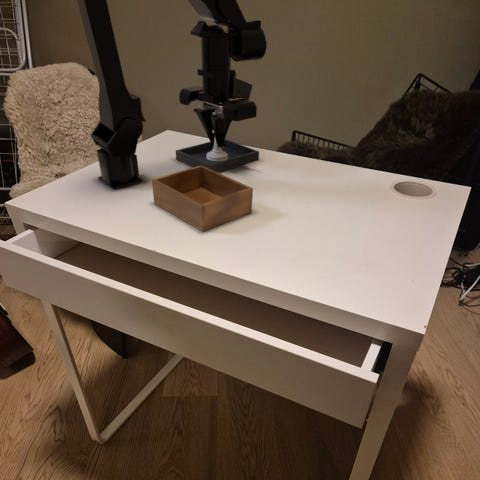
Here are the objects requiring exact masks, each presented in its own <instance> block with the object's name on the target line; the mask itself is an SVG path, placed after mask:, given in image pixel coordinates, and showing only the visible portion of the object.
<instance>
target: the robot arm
mask: <svg viewBox="0 0 480 480" xmlns="http://www.w3.org/2000/svg"><path fill="white" fill-rule="evenodd" d="M76 2H77V6H78V11H79V13H80V16H81V17H80V18H81V22H82V25H83V29H84V32H85V33H84V34H85V36H86V41H87V45H88V48H89V52H90V55H91V59H92V63H93V67H94V71H95V75H96V79H97V83H98V86H99V90H98V103H97V104H98V114H99V121H98V123H97V124H96V126H95V128H94V129H93V130H92V132H91V134H90V137H91V139H92V141H93V143H94V144H95V145H96V147H97V146H98V147H99V149H96V154H97V155H96V156H97V160H98V164H99V170H100V176H98V180H99V181H100V182H101V183H103V184H105V185H106V186H108V187H109V188H111V189H114V190H116V189H119V188H124V187H127V186H131V185H133V184H137V183H141V182H143V178H142V177H141V176H140V170H139V162H138V156H137V154H136V152H137V148H138V147H137V146H138V141H139V139H140V137H141V136H142V134H143V133H144V123H145V122H146V119H145V117H144V114H143V109H142V100H141V97H140V96H138V95H136V94H133V93H131V92H129V90H128V87H127V85H126V82H125V81H126V80H125V77H124V73H123V72H124V71H123V68H122V63H121V59H120V54H119V50H118V46H117V41H116V36H115V32H114V27H113V23H112V18H111V14H110V10H109V5H108V0H76ZM187 2H188V3H189V5H190V6H191V7H192V9H193V10H194V11H195V12H196V14H197V15H198V16H199V17H200V18H202V19H203V20H201V19H199V20H198V21H197V23H196V24H195V26H193V28H192V29H191V30H190V32H189V34H190V35H191V36H192V37H193V36H194V37H198V38H200V49H201V53H200V55H201V68H197V76H200V77H201V85H202V86H200V85H196V86H195V85H194V86H189V87H184V88H182V89H181V90H180V92H179V94H178V95H179V96H178V97H179V104H181V105H183V106H190V104H191V103H192V102H195V108H193V109H192V110H193V112H194V113H195V114H196V116H197V118H198V120H199V122H200V124H201V126H202V127H203V129H204V132H205V133H206V136H207V138H208V140H209V142H211V144H212V145H214V139H215V138H216V142H217V146H218V147H222V146H223V143H224V140H225V139H226V137H227V134H228V131H229V129H230V126H231V123H232V122H240V121H245V120H249V119H254V118H257V111H258V106H257V104H256V103H255V102H254V101H252V100H250V97H251V94H252V89H253V84H252V83H249V82H246V81H245V80H242V79H239V78H237V71H236V69H234V68H233V69H232V66H231V65H232V64H231V63H232V62H231V61H233V62H236V63H239V62H249V61H251V62H252V61H260V60H262V59H263V58H264V57H265V54H266V51H267V46H268V45H267V43H268V42H267V40H266V35H265V31H264V30H263V28H262V21H261V20H260V19H249V20H246V18H245V16H244V14H243V11H242V10H241V8H240V6H239V3H238V1H237V0H187ZM205 20H207V21H212V23H214V24H212V25H211V24H207V22H206V21H205ZM223 27H227V29H226V30H224V28H223ZM215 109H218V114H215V115H213V113H214V112H215ZM213 129H214V133H213V132H212V130H213Z"/></svg>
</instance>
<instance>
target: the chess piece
mask: <svg viewBox="0 0 480 480" xmlns="http://www.w3.org/2000/svg"><path fill="white" fill-rule="evenodd" d="M215 114H218V109H215V112H214V113H213V115H215ZM212 132H213V133H214V129H213V130H212ZM206 158H207V159H208V160H211V161H224V160H227V159H228V154H227V153H226V152H224V151H222V149H221V147H218V146H217V142H216V138H215V139H214V148H213V149H212V151H210V152H208V153H207V156H206Z"/></svg>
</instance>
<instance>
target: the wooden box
mask: <svg viewBox="0 0 480 480" xmlns="http://www.w3.org/2000/svg"><path fill="white" fill-rule="evenodd" d="M151 185H152V186H151V187H152V194H153V196H152V197H153V203H154V204H155V205H156V206H158V207H161V208H162V209H164V210H166V211H167V212H168V213H171V214H172V215H174V216H175V217H177V218H179V219H181V220H182V221H184V222H186V223H187V224H190V225H191V226H193V227H195V228H196V229H197V230H199V231H201V232H205V231H208V230H210V229H213V228H215V227H217V226H220V225H223V224H226V223H228V222H231V221H233V220H236V219H239V218H240V217H243V216H246V215H248V214H251V213H253V196H254V195H253V194H254V193H253V192H254V188H253V187H251V186H248V185H247V184H244V183H242V182H240V181H237V180H235V179H233V178H231V177H229V176H227V175H224V174H222V173H221V172H219V173H217V172H215V171H213V170H211V169H209V168H206V167H204V166H202V165H200V166H197V167H190V168H187V169H184V170H183V169H182V170H180V171H176V172H173V173H170V174H165V175H162V176H159V177H155V178H152V179H151Z"/></svg>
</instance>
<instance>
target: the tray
mask: <svg viewBox="0 0 480 480" xmlns="http://www.w3.org/2000/svg"><path fill="white" fill-rule="evenodd" d="M213 148H214V145H212V144H211V142H210V141H208V142H203V143H199V144H196V145H191V146H187V147H184V148H180V149H176V150H175V160H176V161H179V162H181V163H183V164H185V165H187V166H189V167H191V168H193V167H197V166H200V165H202V166H204V167H206V168H209V169H211V170H213V171H215V172H217V173H222V172H225V171H229V170H232V169H235V168H238V167H239V168H240V167H242V166H246V165H248V164H251V163H255V162H258V161H260V151H259V150H258V149H257V150H256V149H254V148H251V147H249V146H246V145H244V144H240V143H237V142H236V141H233V140H230V139H227V138H225V140H224V143H223V146H222V147H221V149H222V151H224V152H226V153H227V154H228V159H227V160H224V161H211V160H208V159H207V158H206V156H207V153H208V152H210V151H212V149H213Z"/></svg>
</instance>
